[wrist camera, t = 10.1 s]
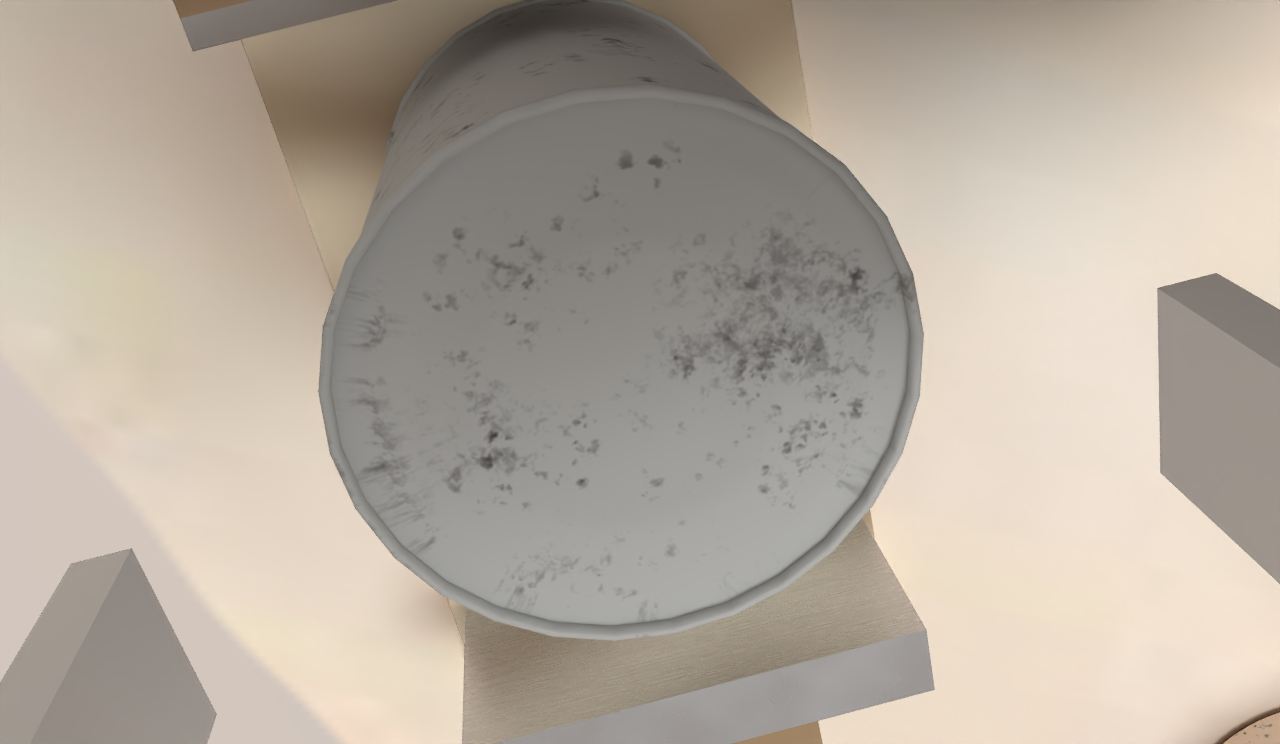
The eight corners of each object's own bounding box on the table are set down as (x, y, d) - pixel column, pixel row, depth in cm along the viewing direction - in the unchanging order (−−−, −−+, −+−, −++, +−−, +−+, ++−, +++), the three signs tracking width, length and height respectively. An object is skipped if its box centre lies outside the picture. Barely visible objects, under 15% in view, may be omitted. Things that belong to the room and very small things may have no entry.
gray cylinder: (693, 391, 32) (807, 678, 20) (350, 316, 29) (269, 592, 18) (807, 55, 28) (1020, 181, 17) (428, -58, 26) (387, 1, 15)
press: (164, -198, 25) (56, -218, 19) (728, -336, 25) (810, -402, 19) (503, 729, 37) (506, 908, 31) (881, 629, 37) (962, 786, 31)
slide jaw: (465, 606, 33) (461, 752, 28) (854, 505, 33) (926, 629, 28) (518, 754, 36) (524, 913, 30) (879, 658, 36) (949, 799, 31)
